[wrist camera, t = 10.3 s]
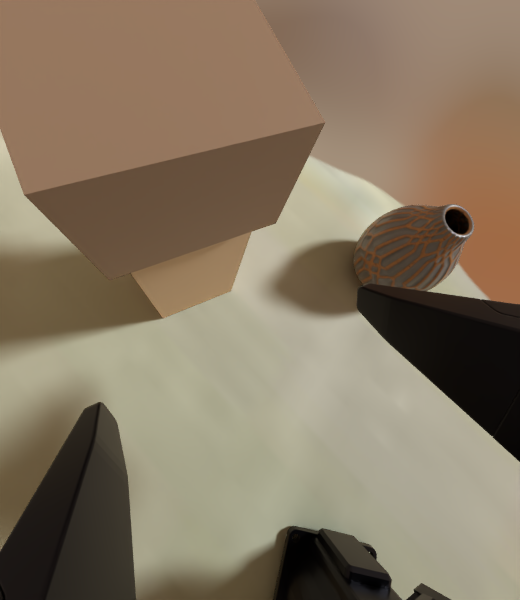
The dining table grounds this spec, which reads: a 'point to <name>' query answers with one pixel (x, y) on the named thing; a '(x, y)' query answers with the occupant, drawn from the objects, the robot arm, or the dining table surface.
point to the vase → (413, 246)
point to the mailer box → (192, 276)
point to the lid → (151, 122)
